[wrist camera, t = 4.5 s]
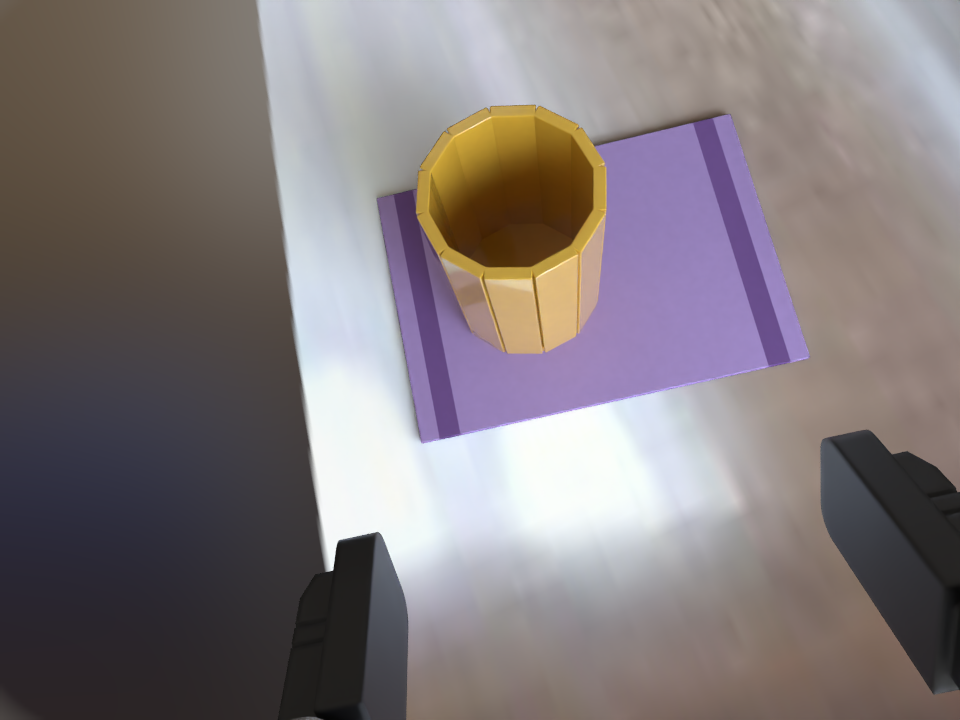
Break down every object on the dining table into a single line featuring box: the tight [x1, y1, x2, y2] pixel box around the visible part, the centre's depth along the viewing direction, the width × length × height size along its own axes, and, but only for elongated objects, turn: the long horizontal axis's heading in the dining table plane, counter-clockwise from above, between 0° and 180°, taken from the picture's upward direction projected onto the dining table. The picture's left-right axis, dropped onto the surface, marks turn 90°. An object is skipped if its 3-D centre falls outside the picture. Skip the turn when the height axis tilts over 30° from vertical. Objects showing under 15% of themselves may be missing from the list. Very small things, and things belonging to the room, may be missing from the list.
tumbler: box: [416, 105, 607, 354], centre depth 31 cm, size 6×6×10 cm
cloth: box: [377, 114, 810, 443], centre depth 36 cm, size 17×12×1 cm
